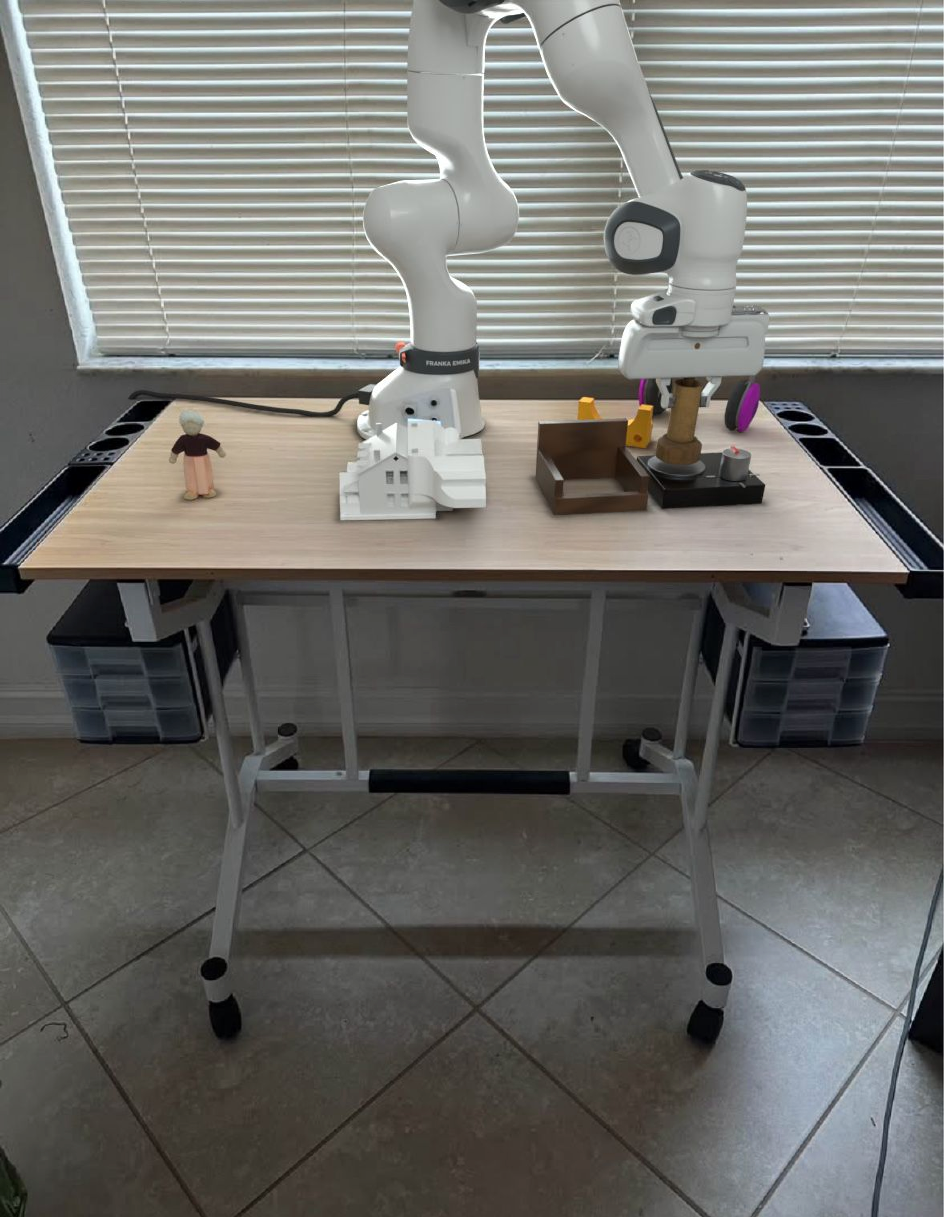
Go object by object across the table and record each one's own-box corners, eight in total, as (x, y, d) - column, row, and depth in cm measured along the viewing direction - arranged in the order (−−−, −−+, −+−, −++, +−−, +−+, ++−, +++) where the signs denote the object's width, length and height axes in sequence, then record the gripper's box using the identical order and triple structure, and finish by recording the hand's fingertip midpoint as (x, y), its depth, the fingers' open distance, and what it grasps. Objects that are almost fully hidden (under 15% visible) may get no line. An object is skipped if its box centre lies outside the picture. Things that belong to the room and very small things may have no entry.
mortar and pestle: (700, 467, 122) (720, 340, 112) (654, 463, 123) (670, 337, 113) (699, 450, 127) (718, 328, 118) (655, 447, 128) (671, 326, 119)
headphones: (758, 426, 151) (781, 309, 140) (743, 440, 144) (766, 319, 134) (649, 405, 160) (662, 295, 150) (630, 417, 154) (643, 303, 143)
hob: (663, 510, 120) (666, 490, 118) (634, 474, 131) (637, 454, 129) (767, 505, 121) (771, 485, 120) (730, 469, 133) (733, 450, 131)
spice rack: (554, 515, 118) (558, 454, 113) (535, 477, 129) (538, 421, 125) (646, 510, 120) (654, 450, 115) (620, 474, 131) (626, 418, 126)
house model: (346, 481, 128) (341, 418, 122) (478, 479, 129) (479, 416, 124) (337, 537, 111) (332, 467, 106) (488, 534, 113) (490, 465, 108)
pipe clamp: (650, 439, 144) (655, 402, 141) (645, 448, 141) (650, 410, 137) (582, 430, 148) (585, 393, 145) (576, 438, 144) (578, 401, 141)
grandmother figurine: (179, 504, 120) (163, 417, 113) (174, 494, 123) (158, 409, 116) (233, 494, 123) (221, 410, 116) (227, 485, 126) (214, 402, 119)
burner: (657, 478, 122) (658, 476, 122) (640, 457, 129) (640, 455, 129) (713, 476, 123) (714, 473, 123) (693, 455, 130) (693, 452, 130)
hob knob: (751, 481, 121) (756, 456, 119) (724, 481, 121) (728, 456, 119) (741, 470, 125) (745, 445, 123) (714, 471, 124) (719, 446, 122)
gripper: (762, 300, 118) (744, 397, 125) (620, 303, 115) (610, 402, 123) (782, 310, 112) (762, 411, 120) (633, 313, 110) (622, 416, 117)
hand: (684, 406), depth 121 cm, fingers closed on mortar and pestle, 4 cm apart
